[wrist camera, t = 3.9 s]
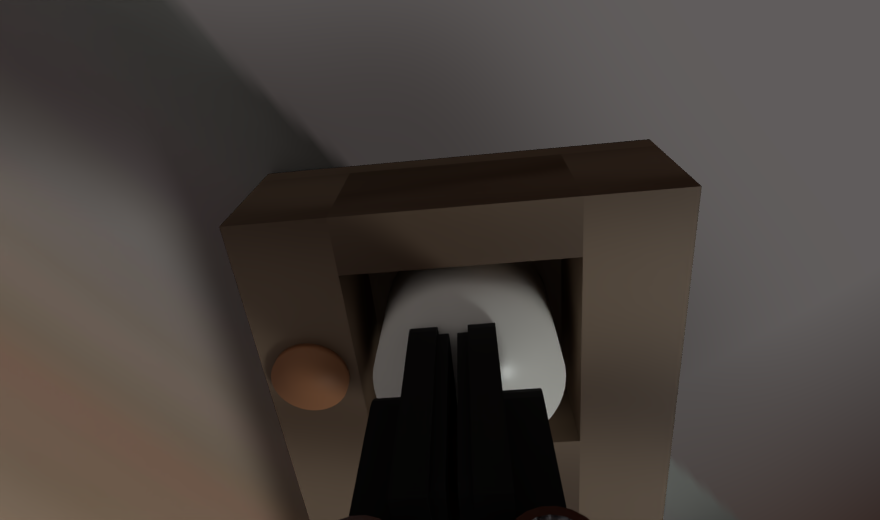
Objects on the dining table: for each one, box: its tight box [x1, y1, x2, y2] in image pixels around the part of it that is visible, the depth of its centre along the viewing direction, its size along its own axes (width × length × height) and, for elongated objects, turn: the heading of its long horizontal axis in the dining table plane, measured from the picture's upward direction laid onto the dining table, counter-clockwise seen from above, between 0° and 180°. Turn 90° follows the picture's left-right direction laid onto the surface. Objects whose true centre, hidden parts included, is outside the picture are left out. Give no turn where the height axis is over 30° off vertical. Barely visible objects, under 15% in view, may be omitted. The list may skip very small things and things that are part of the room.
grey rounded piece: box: [373, 261, 566, 420], centre depth 12 cm, size 4×4×3 cm
